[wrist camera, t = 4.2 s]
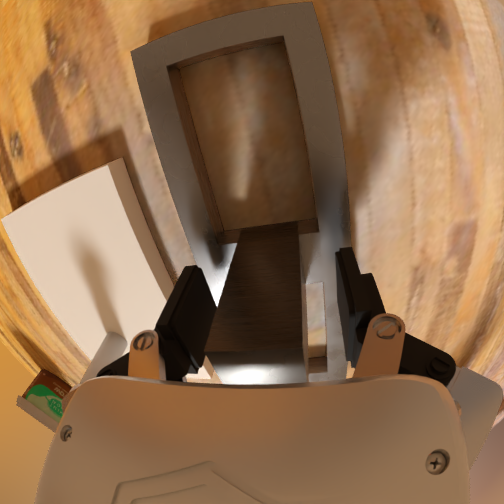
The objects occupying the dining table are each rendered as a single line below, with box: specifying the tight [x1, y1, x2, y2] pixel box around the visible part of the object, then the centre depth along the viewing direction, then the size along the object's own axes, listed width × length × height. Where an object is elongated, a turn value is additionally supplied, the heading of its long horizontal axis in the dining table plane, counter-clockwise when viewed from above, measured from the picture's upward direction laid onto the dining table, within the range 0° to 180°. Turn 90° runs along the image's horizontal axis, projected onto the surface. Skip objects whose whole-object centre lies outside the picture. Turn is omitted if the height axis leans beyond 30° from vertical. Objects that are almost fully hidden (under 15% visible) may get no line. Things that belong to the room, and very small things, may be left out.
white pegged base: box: [1, 157, 214, 392], centre depth 15 cm, size 18×14×9 cm
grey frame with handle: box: [131, 2, 351, 384], centre depth 12 cm, size 24×8×8 cm, turn 13°
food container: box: [17, 370, 72, 432], centre depth 31 cm, size 12×6×10 cm, turn 40°
